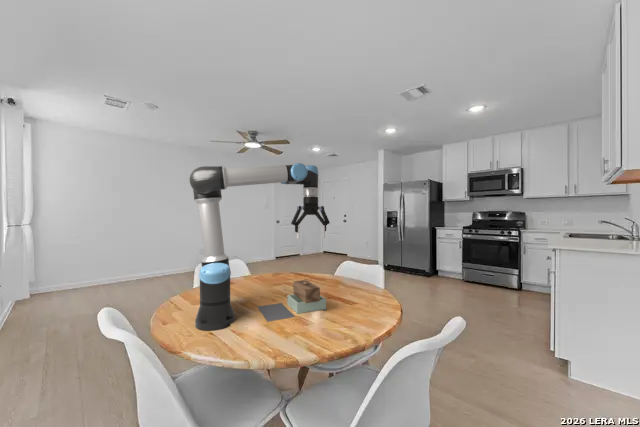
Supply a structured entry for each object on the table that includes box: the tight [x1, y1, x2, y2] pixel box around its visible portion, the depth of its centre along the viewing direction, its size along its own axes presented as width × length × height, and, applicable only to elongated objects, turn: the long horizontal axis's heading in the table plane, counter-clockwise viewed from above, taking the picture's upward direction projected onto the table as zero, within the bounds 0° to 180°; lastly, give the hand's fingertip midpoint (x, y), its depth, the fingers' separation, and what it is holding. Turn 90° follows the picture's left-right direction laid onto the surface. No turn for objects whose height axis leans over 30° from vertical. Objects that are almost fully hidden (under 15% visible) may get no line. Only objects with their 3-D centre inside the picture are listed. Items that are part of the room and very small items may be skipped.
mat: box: [256, 302, 296, 323], centre depth 122 cm, size 12×20×1 cm, turn 25°
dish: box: [286, 293, 327, 315], centre depth 129 cm, size 14×14×5 cm
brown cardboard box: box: [292, 279, 321, 303], centre depth 128 cm, size 7×16×7 cm, turn 25°
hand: (311, 238), depth 138 cm, fingers open, 13 cm apart
